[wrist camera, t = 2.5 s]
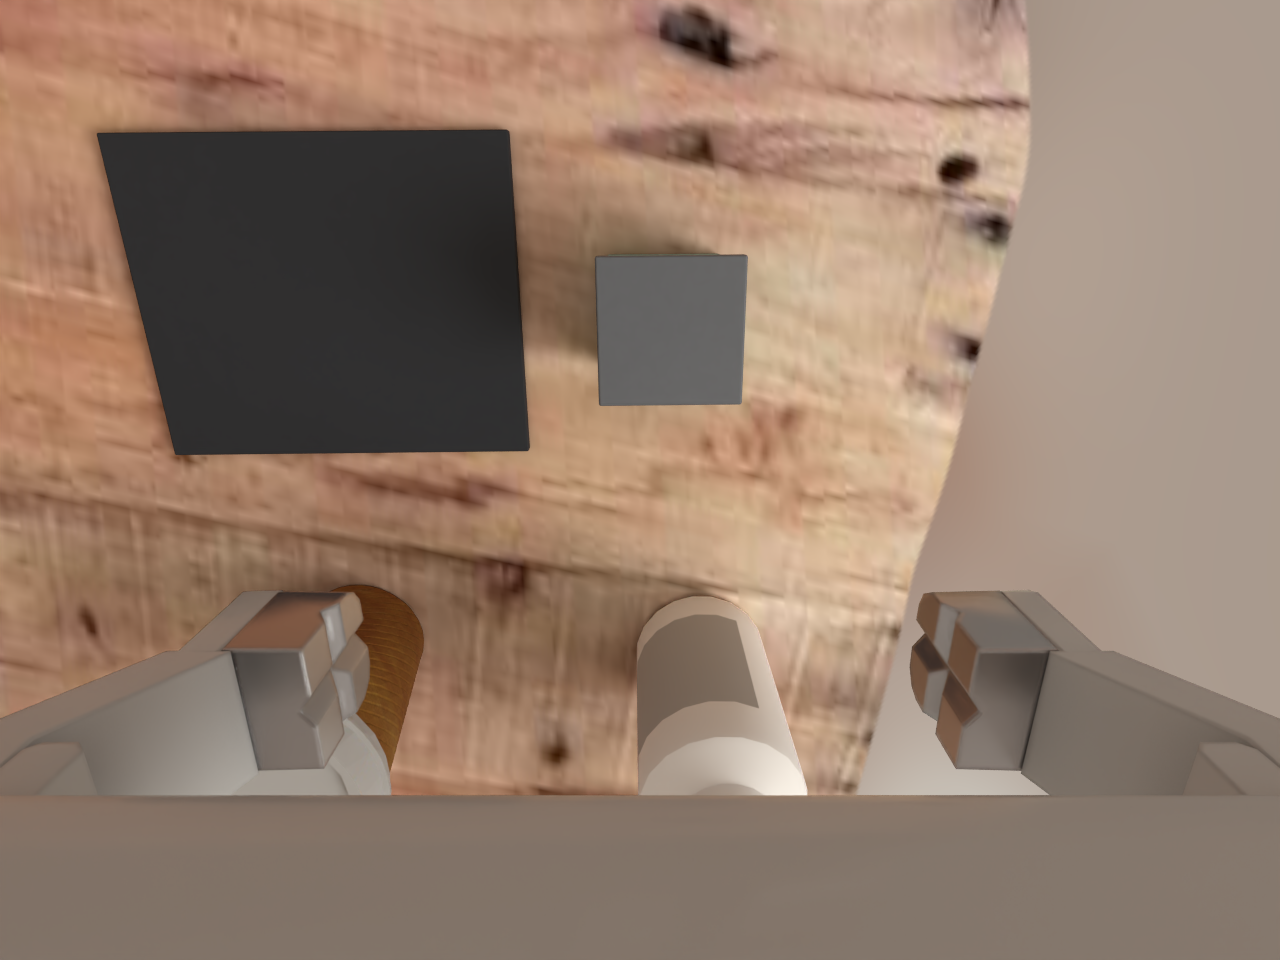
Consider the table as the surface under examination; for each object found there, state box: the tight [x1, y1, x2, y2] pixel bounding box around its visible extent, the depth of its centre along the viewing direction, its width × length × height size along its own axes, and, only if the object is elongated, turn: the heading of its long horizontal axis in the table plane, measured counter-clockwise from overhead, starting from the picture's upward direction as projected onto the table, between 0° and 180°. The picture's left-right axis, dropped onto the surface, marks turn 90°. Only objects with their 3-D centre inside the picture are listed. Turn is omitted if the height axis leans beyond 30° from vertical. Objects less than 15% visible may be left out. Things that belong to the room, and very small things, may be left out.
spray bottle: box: [637, 596, 807, 795], centre depth 30 cm, size 7×7×18 cm
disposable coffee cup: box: [231, 585, 424, 795], centre depth 32 cm, size 10×10×12 cm
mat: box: [97, 130, 530, 455], centre depth 32 cm, size 17×14×1 cm
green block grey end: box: [595, 254, 748, 406], centre depth 29 cm, size 5×5×7 cm
